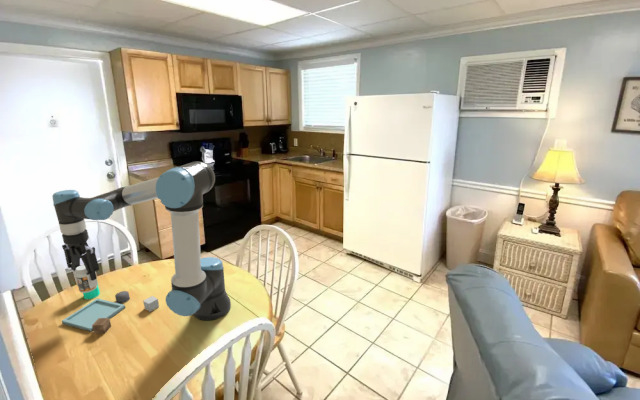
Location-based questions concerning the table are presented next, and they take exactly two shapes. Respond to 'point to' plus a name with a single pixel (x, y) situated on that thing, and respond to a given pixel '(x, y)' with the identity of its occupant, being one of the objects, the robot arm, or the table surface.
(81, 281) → the pill bottle
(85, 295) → the candle
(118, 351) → the table surface
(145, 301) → the grey block
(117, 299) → the dark grey stone
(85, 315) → the tray
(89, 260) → the robot arm
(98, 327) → the walnut block
